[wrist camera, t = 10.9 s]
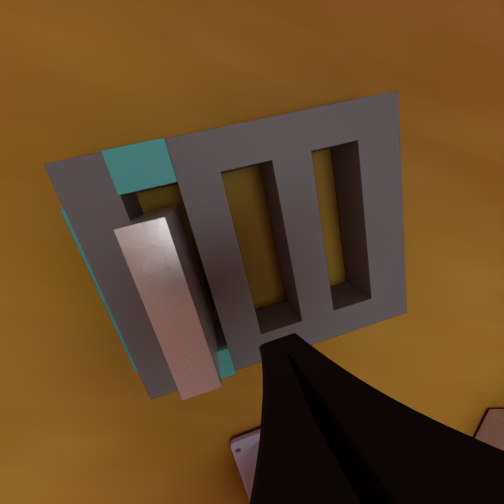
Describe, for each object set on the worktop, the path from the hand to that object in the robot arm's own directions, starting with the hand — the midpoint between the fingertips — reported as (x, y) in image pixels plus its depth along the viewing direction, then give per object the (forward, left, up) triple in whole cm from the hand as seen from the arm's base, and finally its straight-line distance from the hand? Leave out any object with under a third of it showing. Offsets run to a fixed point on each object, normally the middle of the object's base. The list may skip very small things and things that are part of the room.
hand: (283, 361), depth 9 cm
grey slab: (+2, +4, -9) cm, 10 cm away
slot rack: (+2, -1, -9) cm, 10 cm away
